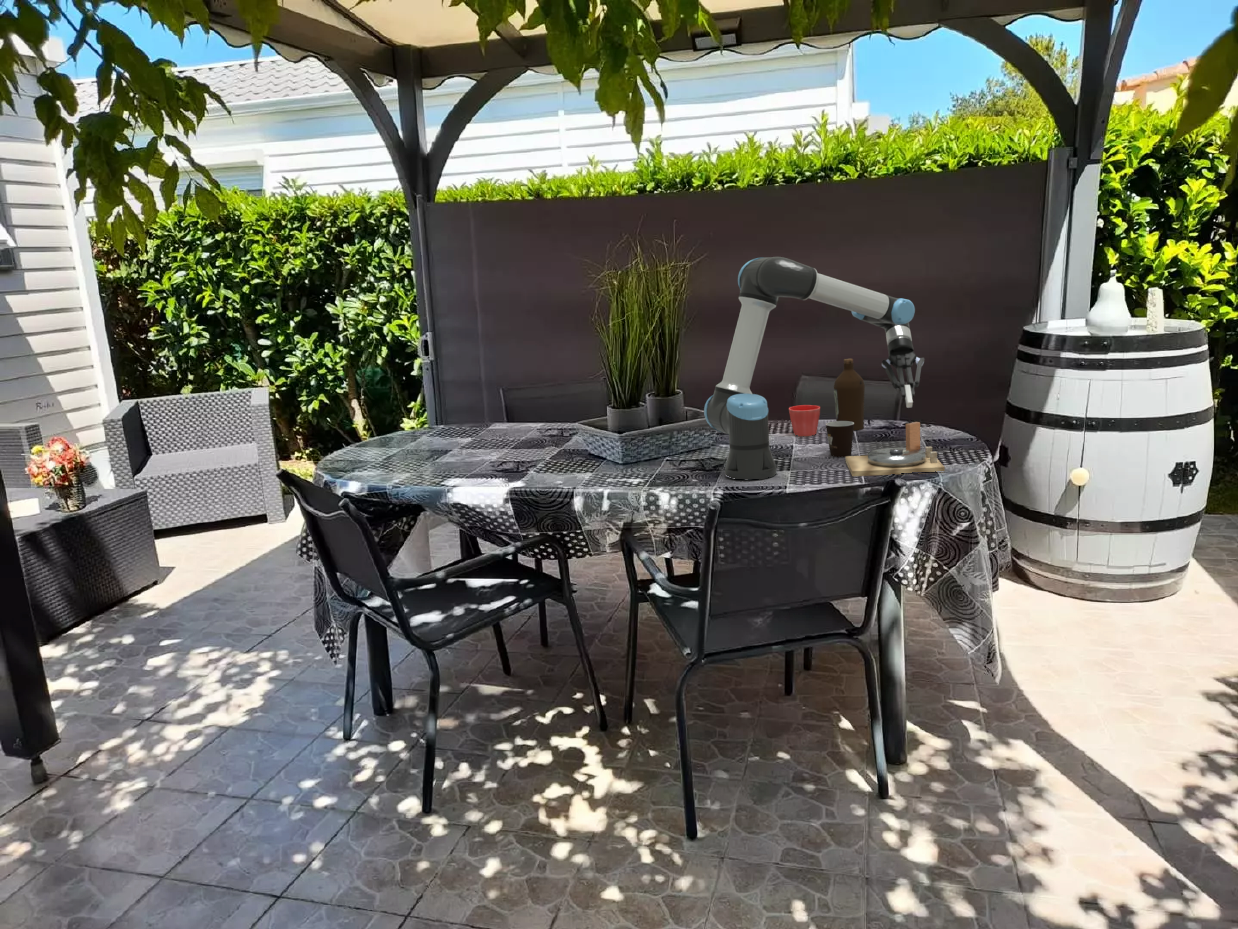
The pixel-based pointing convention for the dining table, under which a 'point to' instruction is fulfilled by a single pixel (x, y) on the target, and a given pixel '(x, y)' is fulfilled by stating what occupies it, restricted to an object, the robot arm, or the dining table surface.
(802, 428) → the flower pot
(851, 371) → the olive oil
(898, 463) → the disc
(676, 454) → the dining table surface
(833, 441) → the coffee mug
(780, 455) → the dining table surface
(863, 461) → the tan record player
